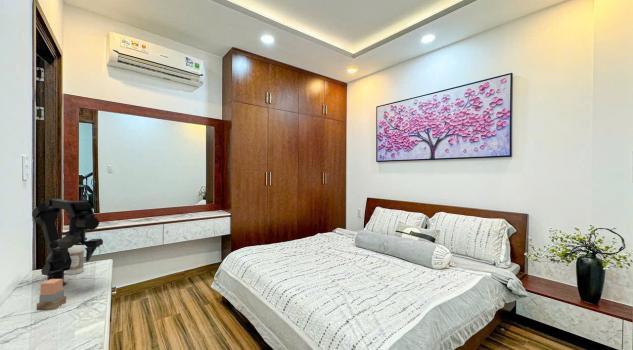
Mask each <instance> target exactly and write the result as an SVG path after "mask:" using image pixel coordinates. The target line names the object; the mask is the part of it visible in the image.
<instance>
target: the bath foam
mask: <svg viewBox="0 0 633 350" xmlns="http://www.w3.org/2000/svg"><path fill="white" fill-rule="evenodd" d="M68 252H69V254H70V257H71V260H72V263H71V267H70V270H67V271H65V274H66V275H68V276H71V275H77V274H81V273H83V271H84V267H85V266H84V264H85V248H84V245H73V247H71V248H68Z"/></svg>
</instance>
